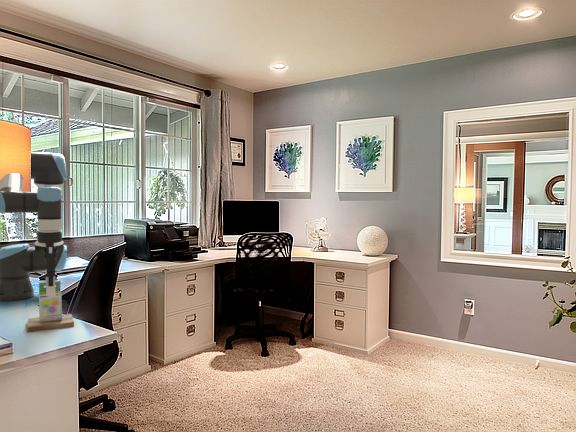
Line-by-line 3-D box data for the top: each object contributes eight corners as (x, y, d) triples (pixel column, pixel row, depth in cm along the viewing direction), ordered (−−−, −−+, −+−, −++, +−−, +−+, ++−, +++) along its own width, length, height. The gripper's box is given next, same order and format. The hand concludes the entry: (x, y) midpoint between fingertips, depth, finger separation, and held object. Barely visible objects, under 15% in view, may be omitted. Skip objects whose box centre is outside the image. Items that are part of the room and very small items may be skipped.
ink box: (39, 323, 149) (38, 284, 149) (39, 320, 153) (38, 282, 152) (62, 320, 153) (61, 282, 152) (61, 317, 156) (61, 280, 156)
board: (28, 322, 155) (27, 318, 155) (71, 317, 162) (71, 313, 162) (27, 331, 144) (27, 327, 144) (73, 326, 151) (73, 322, 151)
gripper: (37, 228, 160) (38, 284, 162) (37, 235, 139) (38, 300, 140) (60, 227, 164) (60, 282, 165) (63, 234, 143) (64, 297, 144)
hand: (50, 291), depth 153 cm, fingers open, 13 cm apart
